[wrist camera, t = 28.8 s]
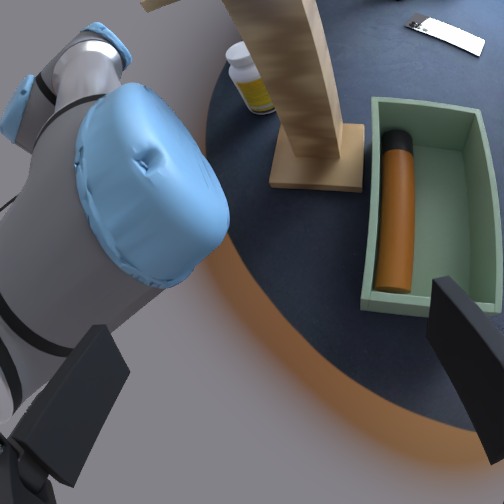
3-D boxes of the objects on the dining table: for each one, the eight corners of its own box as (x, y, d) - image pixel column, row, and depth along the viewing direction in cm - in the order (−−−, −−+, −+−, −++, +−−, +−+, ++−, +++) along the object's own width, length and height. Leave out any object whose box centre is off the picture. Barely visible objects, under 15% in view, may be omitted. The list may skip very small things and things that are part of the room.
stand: (269, 201, 40) (119, -2, 12) (285, 119, 43) (193, -63, 15) (361, 207, 36) (317, -60, 8) (364, 120, 39) (323, -91, 11)
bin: (359, 310, 32) (360, 299, 24) (372, 140, 38) (371, 96, 30) (470, 321, 27) (501, 313, 19) (464, 151, 33) (480, 109, 25)
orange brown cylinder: (388, 294, 32) (366, 287, 30) (395, 151, 36) (375, 136, 34) (417, 293, 28) (396, 286, 27) (418, 141, 33) (399, 125, 31)
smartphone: (479, 56, 34) (404, 24, 41) (478, 58, 35) (404, 26, 42) (485, 41, 35) (415, 11, 41) (484, 43, 35) (415, 13, 42)
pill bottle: (291, 106, 44) (269, 51, 33) (253, 122, 45) (224, 70, 35) (279, 83, 46) (256, 32, 36) (244, 98, 48) (216, 49, 37)
